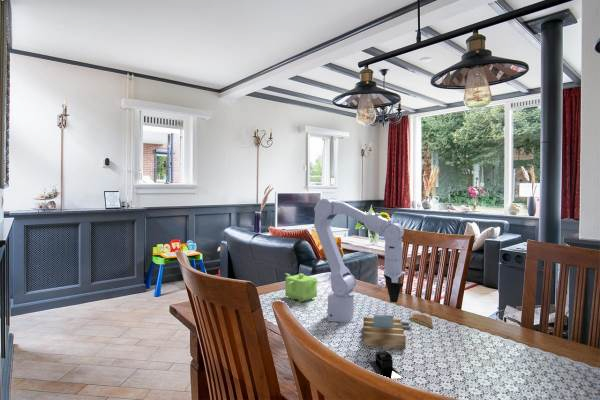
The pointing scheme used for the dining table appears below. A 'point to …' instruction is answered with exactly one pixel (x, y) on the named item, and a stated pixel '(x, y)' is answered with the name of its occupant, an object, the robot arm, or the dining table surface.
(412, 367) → the dining table surface
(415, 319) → the shard
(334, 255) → the robot arm
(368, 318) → the rack
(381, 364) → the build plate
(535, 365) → the dining table surface
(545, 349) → the dining table surface
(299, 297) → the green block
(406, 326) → the holder
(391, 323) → the plate
